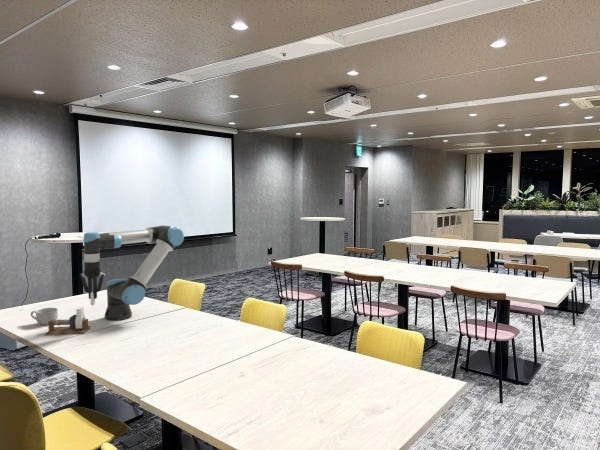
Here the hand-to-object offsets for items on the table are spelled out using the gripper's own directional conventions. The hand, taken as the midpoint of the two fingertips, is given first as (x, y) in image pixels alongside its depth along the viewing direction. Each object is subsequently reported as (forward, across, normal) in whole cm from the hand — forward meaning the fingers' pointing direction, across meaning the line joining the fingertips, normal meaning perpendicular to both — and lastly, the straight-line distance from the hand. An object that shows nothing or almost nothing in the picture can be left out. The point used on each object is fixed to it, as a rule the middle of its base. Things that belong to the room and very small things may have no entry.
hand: (93, 304), depth 231 cm
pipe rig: (+14, +13, 0) cm, 19 cm away
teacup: (+15, +32, -16) cm, 39 cm away
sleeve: (+12, +7, 0) cm, 14 cm away
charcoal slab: (+12, +10, 0) cm, 16 cm away
